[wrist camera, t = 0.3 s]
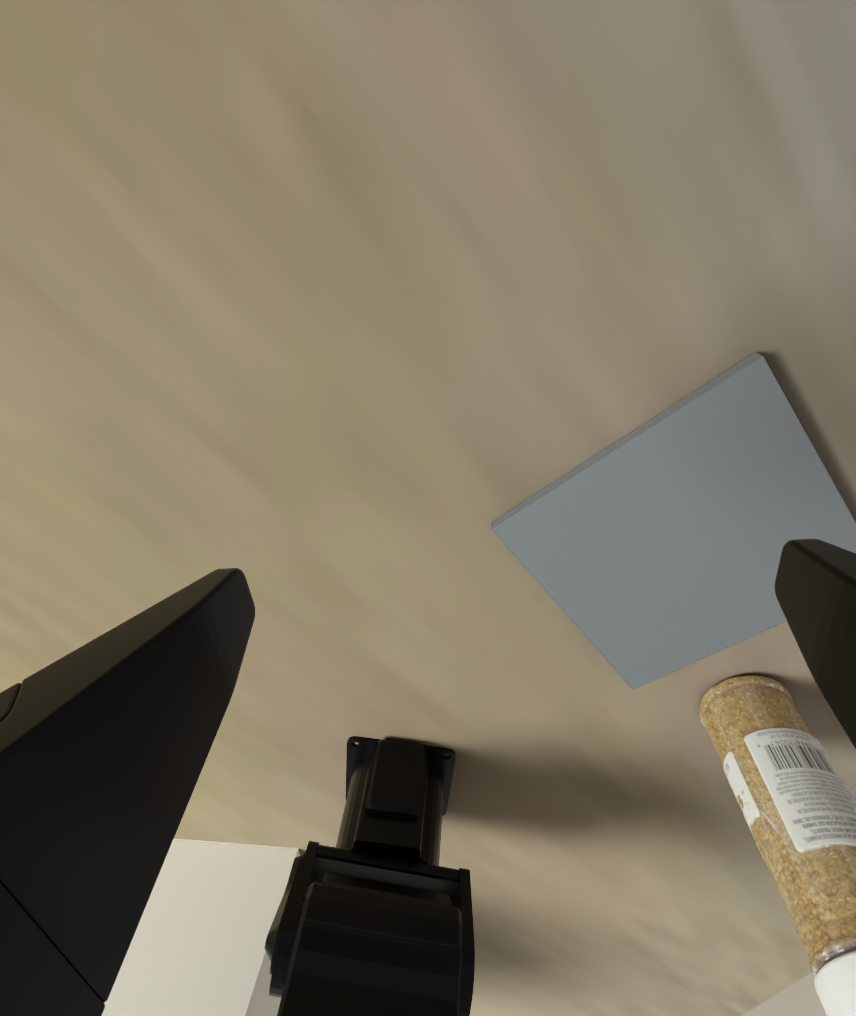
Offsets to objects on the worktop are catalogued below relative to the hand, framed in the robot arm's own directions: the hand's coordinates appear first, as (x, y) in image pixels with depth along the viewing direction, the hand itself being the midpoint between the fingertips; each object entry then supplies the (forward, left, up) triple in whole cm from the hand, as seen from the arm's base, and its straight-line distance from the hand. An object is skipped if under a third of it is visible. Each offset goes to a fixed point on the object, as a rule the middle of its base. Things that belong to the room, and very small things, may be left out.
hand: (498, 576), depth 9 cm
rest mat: (-7, -10, -14) cm, 18 cm away
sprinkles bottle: (-16, -16, -14) cm, 26 cm away
